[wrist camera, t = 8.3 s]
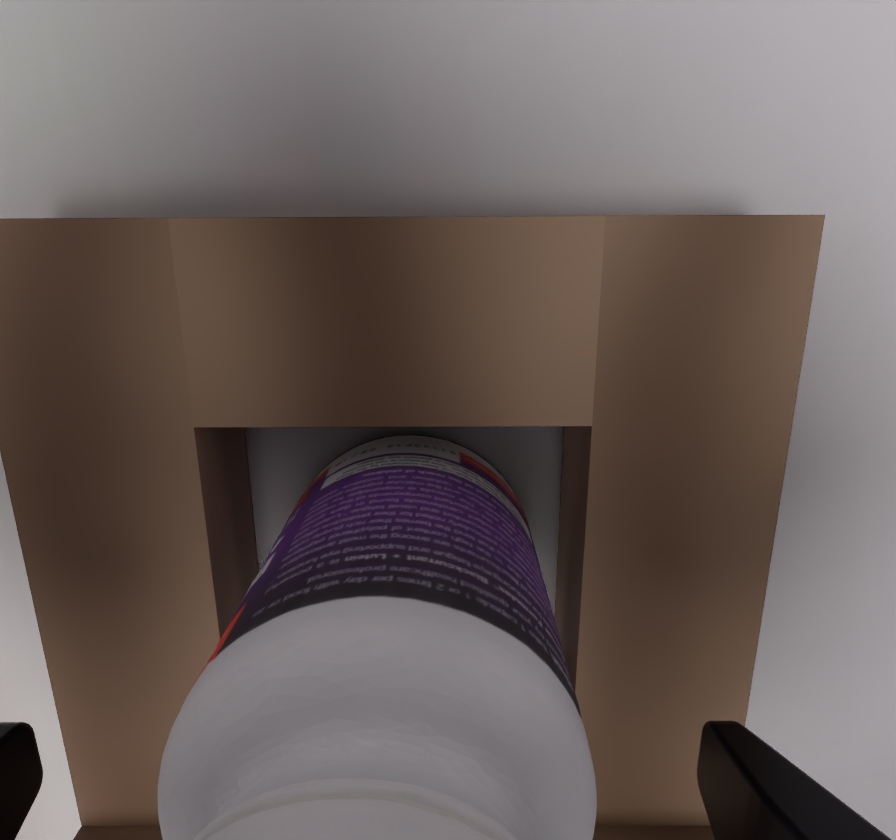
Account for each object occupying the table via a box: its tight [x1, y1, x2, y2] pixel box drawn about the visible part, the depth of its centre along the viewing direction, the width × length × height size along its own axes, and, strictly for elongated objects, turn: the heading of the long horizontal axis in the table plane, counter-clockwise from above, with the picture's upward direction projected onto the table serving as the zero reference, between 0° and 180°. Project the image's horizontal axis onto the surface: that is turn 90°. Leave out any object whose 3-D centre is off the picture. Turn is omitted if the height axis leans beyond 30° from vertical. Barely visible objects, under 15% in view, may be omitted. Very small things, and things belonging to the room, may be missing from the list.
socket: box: [0, 215, 825, 840], centre depth 12 cm, size 14×14×4 cm
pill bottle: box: [157, 435, 597, 840], centre depth 9 cm, size 5×5×10 cm
